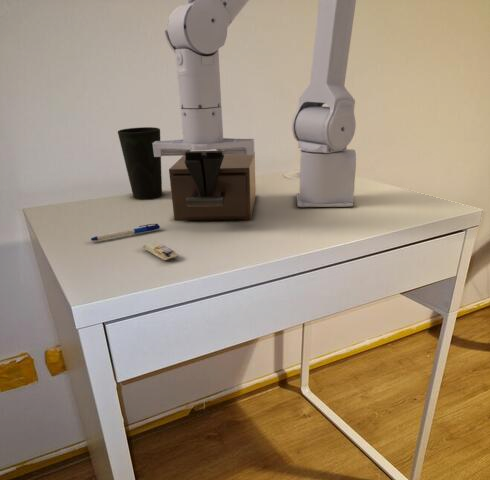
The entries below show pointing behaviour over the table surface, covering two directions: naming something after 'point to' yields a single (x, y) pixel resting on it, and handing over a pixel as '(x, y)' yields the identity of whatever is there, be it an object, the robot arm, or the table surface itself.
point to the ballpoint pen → (127, 232)
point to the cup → (142, 161)
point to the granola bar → (160, 250)
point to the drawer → (221, 205)
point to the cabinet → (228, 166)
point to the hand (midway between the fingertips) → (208, 204)
